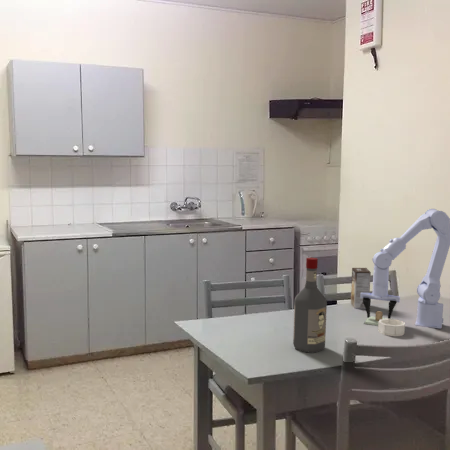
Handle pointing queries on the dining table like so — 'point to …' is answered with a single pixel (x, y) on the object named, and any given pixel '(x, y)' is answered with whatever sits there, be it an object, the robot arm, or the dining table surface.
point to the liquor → (310, 313)
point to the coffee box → (359, 286)
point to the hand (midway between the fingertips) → (378, 318)
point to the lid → (375, 318)
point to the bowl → (391, 327)
